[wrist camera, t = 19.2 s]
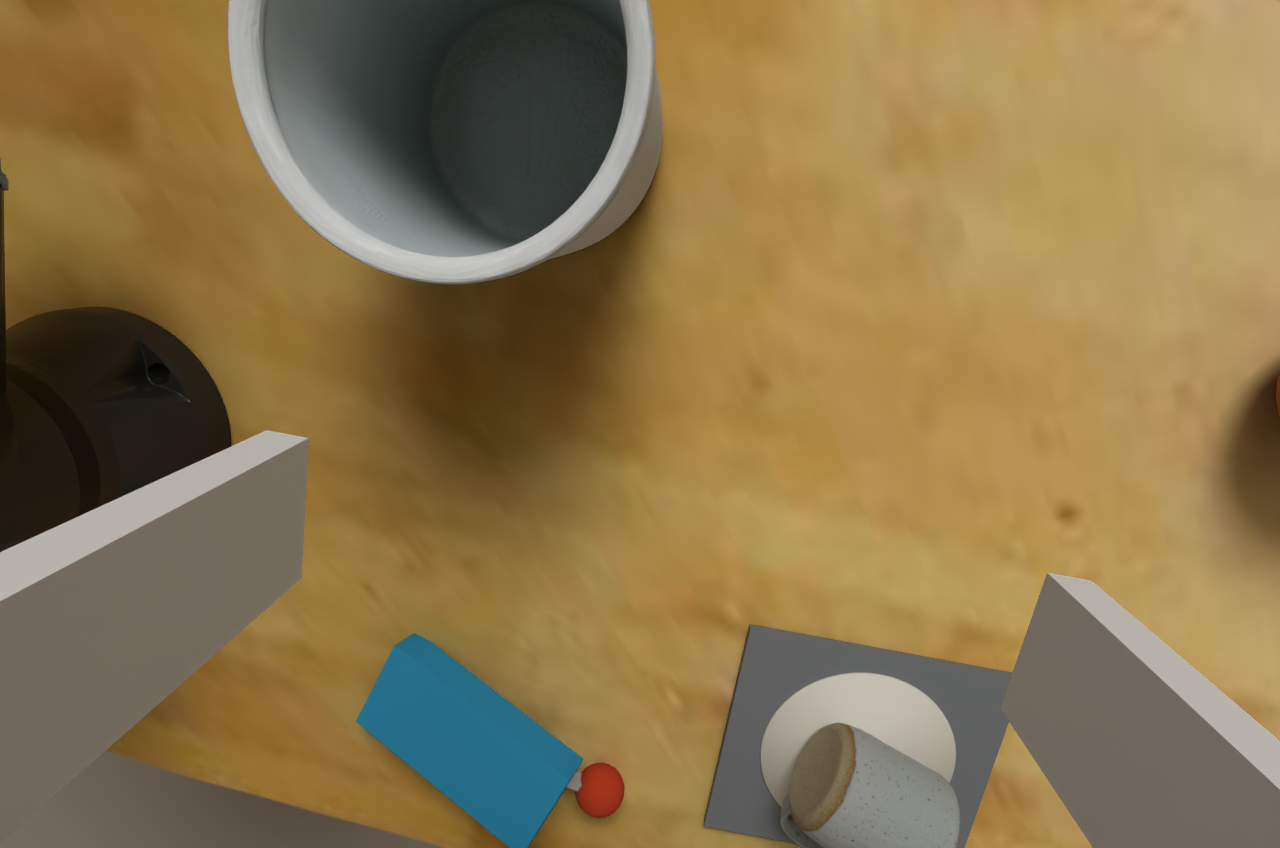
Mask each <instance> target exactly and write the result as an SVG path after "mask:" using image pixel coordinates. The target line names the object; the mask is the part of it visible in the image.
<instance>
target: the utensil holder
mask: <svg viewBox="0 0 1280 848" xmlns="http://www.w3.org/2000/svg"><path fill="white" fill-rule="evenodd" d="M228 43H229V57H230V65H231V73H232V79H233V84H234V89H235V94H236V98H237V102H238V105H239V108H240V112H241V115H242V119H243V122H244V125H245V128H246V131H247V133H248V135H249V137H250V140H251V142H252V145H253V147H254V149H255V151H256V153H257V155H258V157H259V159H260V161H261V163H262V164H263V166H264V168H265V170H266V171H267V173H268V175H269V176H270V178H271V180H272V181H273V183H274V184H275V186H276V187H277V189H278V190H279V192H280V193H281V194H282V196H283V197H284V198H285V199H286V201H287V202H288V203H289V204H290V206H291V207H292V208H293V209H294V210H295V211H296V212H297V214H298V215H299V216H300V217H302V219H303V220H304V221H305V222H306V223H307V224H308V225H309V226H310V227H311V228H312V229H313V230H315V231H316V232H317V233H318V234H319V235H320V236H321V237H323V238H324V239H326V240H327V241H328V242H330V243H331V244H332V245H334V246H335V247H337V248H338V249H339V250H341V251H343V252H344V253H346V254H348V255H349V256H351V257H353V258H355V259H356V260H358V261H360V262H362V263H364V264H366V265H369V266H371V267H373V268H375V269H378V270H380V271H382V272H385V273H389V274H392V275H395V276H398V277H401V278H406V279H409V280H415V281H420V282H427V283H436V284H471V283H479V282H485V281H491V280H496V279H500V278H504V277H508V276H511V275H515V274H517V273H520V272H523V271H525V270H528V269H530V268H532V267H534V266H536V265H538V264H541V263H543V262H544V261H546V260H548V259H552V258H556V257H560V256H563V255H567V254H570V253H572V252H575V251H578V250H581V249H584V248H586V247H588V246H590V245H593V244H595V243H597V242H599V241H600V240H602V239H604V238H605V237H607V236H608V235H610V234H611V233H612V232H614V231H615V230H616V229H617V228H619V227H620V226H621V225H622V224H623V223H624V222H625V221H626V220H627V219H628V218H629V217H630V216H631V214H632V213H633V212H634V211H635V209H636V208H637V207H638V205H639V204H640V202H641V201H642V199H643V198H644V196H645V194H646V192H647V190H648V189H649V186H650V184H651V182H652V180H653V177H654V175H655V171H656V168H657V165H658V161H659V156H660V150H661V144H662V127H663V123H662V103H661V93H660V85H659V80H658V75H657V70H656V66H655V62H656V53H655V36H654V28H653V21H652V15H651V10H650V5H649V1H648V0H229V11H228Z"/></svg>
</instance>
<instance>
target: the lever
mask: <svg viewBox="0 0 1280 848" xmlns="http://www.w3.org/2000/svg"><path fill="white" fill-rule="evenodd" d="M356 722H357V723H358V724H359V725H361V726H362V727H363V728H364V729H365V730H367V731H368V732H369V733H370V734H372V735H373V736H374V737H375V738H376V739H378V740H379V741H380V742H381V743H383V744H384V745H385V746H386V747H387V748H389V749H390V750H391V751H392V752H393V753H395V754H396V755H397V756H398V757H400V758H401V759H402V760H403V761H404V762H406V763H407V764H408V765H409V766H411V767H412V768H413V769H414V770H415V771H417V772H418V773H419V774H420V775H422V776H423V777H424V778H425V779H426V780H428V781H429V782H430V783H431V784H433V785H434V786H435V787H436V788H437V789H439V790H440V791H441V792H442V793H444V794H445V795H446V796H447V797H448V798H450V799H451V800H452V801H453V802H455V803H456V804H457V805H458V806H459V807H461V808H462V809H463V810H464V811H465V812H467V813H468V814H469V815H470V816H472V817H473V818H474V819H475V820H476V821H478V822H479V823H480V824H481V825H483V826H484V827H485V828H486V829H487V830H489V831H490V832H491V833H492V834H494V835H495V836H496V837H497V838H498V839H500V840H501V841H502V842H503V843H505V844H506V845H507V846H508V847H509V848H528V846H529V845H530V843H531V842H532V840H533V839H534V837H535V836H536V834H537V833H538V831H539V830H540V828H541V826H542V825H543V823H544V822H545V820H546V819H547V817H548V815H549V814H550V812H551V811H552V809H553V807H554V806H555V804H556V803H557V801H558V799H559V798H560V796H561V795H562V793H563V791H564V790H565V788H566V787H567V788H569V789H572V790H575V791H576V798H577V802H578V804H579V806H580V807H581V809H582V810H583V811H584V812H585V813H587V814H588V815H590V816H592V817H597V818H600V817H606V816H609V815H611V814H612V813H614V812H615V811H616V810H617V809H618V808H619V806H620V804H621V802H622V800H623V797H624V783H623V779H622V777H621V775H620V773H619V772H618V771H617V770H616V769H615V768H614V767H612V766H611V765H609V764H605V763H595V764H592V765H590V766H589V767H587V768H586V769H585V770H584V771H583V772H582V773H579V772H576V771H577V769H578V768H579V766H580V764H581V763H582V761H583V758H581V757H580V756H579V755H577V754H576V753H575V752H574V751H572V750H571V749H570V748H568V747H567V746H566V745H564V744H563V743H562V742H561V741H559V740H558V739H557V738H555V737H554V736H553V735H551V734H550V733H549V732H548V731H546V730H545V729H544V728H542V727H541V726H540V725H538V724H537V723H536V722H534V721H533V720H532V719H531V718H529V717H528V716H527V715H525V714H524V713H523V712H521V711H520V710H519V709H518V708H516V707H515V706H514V705H512V704H511V703H510V702H508V701H507V700H506V699H505V698H503V697H502V696H501V695H499V694H498V693H497V692H495V691H494V690H493V689H491V688H490V687H489V686H488V685H486V684H485V683H484V682H482V681H481V680H480V679H478V678H477V677H476V676H475V675H473V674H472V673H471V672H469V671H468V670H467V669H465V668H464V667H463V666H462V665H460V664H459V663H458V662H456V661H455V660H454V659H452V658H451V657H450V656H448V655H447V654H446V653H445V652H443V651H442V650H441V649H439V648H438V647H437V646H435V645H434V644H433V643H432V642H430V641H429V640H427V639H425V638H423V637H421V636H419V635H417V634H415V633H414V634H412V635H411V636H409V637H407V638H406V639H404V640H403V641H401V642H400V643H398V644H396V645H395V646H394V648H393V650H392V652H391V654H390V656H389V657H388V659H387V661H386V663H385V665H384V667H383V669H382V671H381V673H380V675H379V677H378V679H377V681H376V683H375V685H374V687H373V689H372V691H371V693H370V695H369V697H368V699H367V701H366V703H365V705H364V706H363V708H362V710H361V712H360V714H359V716H358V718H357V720H356Z"/></svg>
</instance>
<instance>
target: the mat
mask: <svg viewBox="0 0 1280 848" xmlns="http://www.w3.org/2000/svg"><path fill="white" fill-rule="evenodd" d="M1011 676H1012V673H1010V672H1005V671H999V670H994V669H988V668H983V667H978V666H972V665H967V664H961V663H956V662H951V661H945V660H940V659H934V658H929V657H924V656H918V655H913V654H908V653H902V652H897V651H891V650H886V649H881V648H875V647H870V646H864V645H859V644H854V643H848V642H843V641H837V640H832V639H827V638H821V637H816V636H810V635H805V634H800V633H794V632H789V631H783V630H778V629H773V628H767V627H762V626H757V625H751V624H750V625H749V630H748V634H747V638H746V642H745V647H744V651H743V655H742V660H741V664H740V668H739V672H738V677H737V681H736V685H735V689H734V694H733V698H732V702H731V707H730V711H729V715H728V719H727V724H726V728H725V732H724V737H723V741H722V745H721V749H720V754H719V758H718V762H717V766H716V771H715V775H714V779H713V784H712V788H711V792H710V796H709V801H708V805H707V809H706V814H705V818H704V826H705V827H710V828H716V829H721V830H726V831H731V832H737V833H742V834H747V835H752V836H758V837H763V838H768V839H773V840H778V841H784V842H789V843H794V844H797V843H796V842H794V841H793V840H792V839H791V838H790V837H788V835H787V834H786V833H785V832H784V831H783V829H782V826H781V823H780V817H781V809H782V804H783V800H784V798H785V797H786V795H787V794H788V791H789V785H790V778H791V775H792V772H793V769H794V766H795V763H796V761H797V759H798V756H799V754H800V753H801V751H802V749H803V748H804V746H805V745H806V743H807V742H808V740H809V739H810V738H811V737H812V736H813V735H814V734H815V733H816V732H817V731H818V730H819V729H821V728H823V727H825V726H827V725H830V724H833V723H844V724H847V725H851V726H853V727H856V728H859V729H861V730H863V731H865V732H867V733H869V734H871V735H872V736H874V737H875V738H877V739H879V740H880V741H882V742H883V743H885V744H887V745H889V746H890V747H892V748H894V749H896V750H898V751H900V752H901V753H903V754H905V755H907V756H909V757H910V758H912V759H914V760H916V761H917V762H919V763H921V764H922V765H924V766H926V767H928V768H929V769H931V770H933V771H935V772H937V773H939V774H940V775H942V776H943V777H944V778H945V779H946V780H947V781H948V782H949V783H950V785H951V786H952V788H953V790H954V791H955V794H956V797H957V800H958V805H959V809H960V828H959V836H958V842H957V846H956V848H964V847H965V844H966V842H967V839H968V836H969V833H970V830H971V827H972V825H973V822H974V819H975V816H976V813H977V810H978V807H979V805H980V802H981V799H982V796H983V793H984V790H985V788H986V785H987V782H988V779H989V776H990V773H991V771H992V768H993V765H994V762H995V759H996V756H997V754H998V751H999V748H1000V745H1001V742H1002V739H1003V737H1004V734H1005V731H1006V728H1007V725H1008V722H1009V720H1008V719H1007V717H1006V716H1005V714H1004V713H1003V711H1002V710H1001V705H1002V702H1003V699H1004V696H1005V693H1006V690H1007V688H1008V685H1009V682H1010V679H1011Z"/></svg>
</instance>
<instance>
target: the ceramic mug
mask: <svg viewBox="0 0 1280 848" xmlns="http://www.w3.org/2000/svg"><path fill="white" fill-rule="evenodd" d="M780 823H781V826H782V829H783V831H784V832H785V833H786V834H787V835H788V837H790V838H791V839H792V840H793V841H794V842H796V843H797V844H799V845H800V846H802V847H803V848H956V846H957V842H958V836H959V828H960V809H959V805H958V800H957V797H956V794H955V791H954V790H953V788H952V786H951V785H950V783H949V782H948V781H947V780H946V779H945V778H944V777H943V776H942V775H940V774H939V773H937V772H935V771H933V770H931V769H929V768H928V767H926V766H924V765H922V764H921V763H919V762H917V761H916V760H914V759H912V758H910V757H909V756H907V755H905V754H903V753H901V752H900V751H898V750H896V749H894V748H892V747H890V746H889V745H887V744H885V743H883V742H882V741H880V740H879V739H877V738H875V737H874V736H872V735H871V734H869V733H867V732H865V731H863V730H861V729H859V728H856V727H853V726H851V725H847V724H844V723H833V724H830V725H827V726H825V727H823V728H821V729H819V730H818V731H817V732H816V733H815V734H814V735H813V736H812V737H811V738H810V739H809V740H808V742H807V743H806V745H805V746H804V748H803V749H802V751H801V753H800V754H799V756H798V759H797V761H796V763H795V766H794V769H793V772H792V775H791V778H790V785H789V791H788V794H787V795H786V797H785V798H784V800H783V804H782V809H781V817H780Z"/></svg>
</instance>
